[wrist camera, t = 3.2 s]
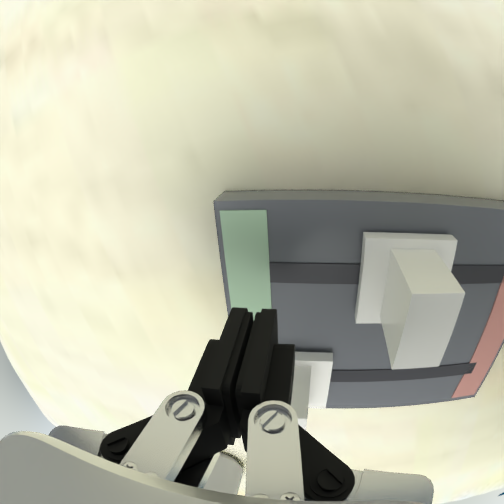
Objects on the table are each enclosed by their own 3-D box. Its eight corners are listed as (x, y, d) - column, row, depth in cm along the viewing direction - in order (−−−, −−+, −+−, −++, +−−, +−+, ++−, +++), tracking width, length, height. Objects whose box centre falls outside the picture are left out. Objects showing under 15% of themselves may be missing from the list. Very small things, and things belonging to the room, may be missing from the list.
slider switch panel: (528, 204, 13) (545, 214, 11) (468, 380, 20) (474, 397, 18) (224, 191, 17) (212, 201, 15) (246, 384, 24) (241, 403, 22)
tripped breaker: (451, 234, 13) (493, 281, 9) (433, 313, 15) (457, 371, 11) (363, 231, 14) (381, 282, 10) (354, 314, 16) (361, 377, 12)
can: (182, 441, 32) (149, 519, 21) (241, 451, 30) (216, 538, 19) (196, 465, 35) (170, 533, 24) (247, 474, 33) (228, 547, 22)
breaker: (332, 352, 18) (332, 414, 14) (325, 399, 20) (322, 455, 16) (254, 348, 19) (237, 407, 15) (258, 396, 21) (245, 449, 17)
